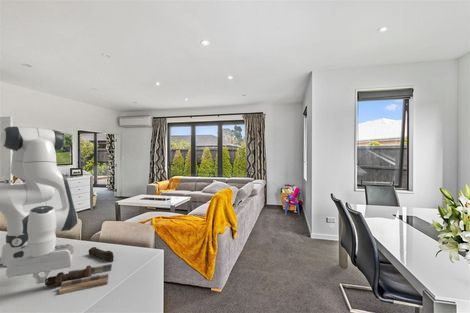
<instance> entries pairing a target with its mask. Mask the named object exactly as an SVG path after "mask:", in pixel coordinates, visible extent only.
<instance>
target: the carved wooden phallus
mask: <svg viewBox="0 0 470 313" xmlns="http://www.w3.org/2000/svg"><path fill="white" fill-rule="evenodd" d="M88 255H90V256H95V257H96V258H97V257H98V258H99V259H100V258H101V259H103V261H104V260H105V262H114V252H113V251H111V250H103V249H100V248H97V247H96V246H93V247H90V248H89V249H88Z"/></svg>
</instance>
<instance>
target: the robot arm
mask: <svg viewBox="0 0 470 313" xmlns="http://www.w3.org/2000/svg"><path fill="white" fill-rule="evenodd" d="M0 141H1V144H2V146H3V147H4V148H6V149H7V150H12V152H13V153H12V155H11V163H10V164H11V165H10V174H11V175H12V176H13V177H15V178H17V179H20V180H23V181H24V182H25V183H19V184H18V183H17V184H5V185H1V186H0V213H1V214H2V215H3V216H4V218H5V223H6V233H7V234H6V235H5V244H4V245H2V247H1V254H0V265H1V264H2V265H4V266H3V267H6V269H5V276H6V277H8V278H14V277H21V276H26V275H32V277H33V279H34V280H35V281H36V282H35V283H36V285H37V284H45V282H46V281H45V280H46V279H47V278H48V276H49V275H50V272H52V271H57V270H63V269H69V268H70V267H72V265H73V264H74V255H73V253H74V246H73V245H71V244H69V243H67V244H60V245H57V235H56V233H57V232H67V231H71V230H72V229H73V228H75V227H76V226H77V224H78V221H79V217H78V213H77V211H76V208H75V205H74V201H73V196H72V192H71V188H70V185H69V184H70V183H69V181H68V178H67V176H66V175H65V174H64V173H61V172H60V170H59V168H58V164H57V162H58V160H57V153H56V152H58V151H60V150H61V149H63V148H64V145H65V142H66V140H65V136H64V134H63V133H62V132H61V131H58V130H55V129H52V130H51V129H46V128H41V127H26V126H24V127H22V126H20V127H18V126H7V127H6V128H4V129H3V131H2V132H1V134H0ZM56 190H57V192H58V193H59V197H60V202H61V206H62V207H61V208H59V209H55V208H54V207H53V206H52V205H51V206H50V205H40V206H39V205H38V206H35V207H33V208H31V209H30V210H29V211H28V210H24V209H23V206H29V205H35V204H41V203H45V202H48V201H51V200H52V199H53V198H54V196H55V194H56ZM40 273H44V276H40V275H39V274H40Z"/></svg>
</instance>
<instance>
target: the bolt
mask: <svg viewBox="0 0 470 313" xmlns="http://www.w3.org/2000/svg"><path fill="white" fill-rule="evenodd" d="M91 267H92V266H91V265H87V266H85V268H86V269H84V268H83V269H84V270H81V271H76V272H71V273H69V272H68V273H64V271H61V272H58V273H57V274H56V275H53V276H49V277H47V279H46V280H45V281H46V282H44V285H45V286H46V287H49V286H53V285H55V286H57V287H61V283H62V282H65V281H70V280H75V279H81V278H86V277H91V276H92V275H93V274H92V269H91Z"/></svg>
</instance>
